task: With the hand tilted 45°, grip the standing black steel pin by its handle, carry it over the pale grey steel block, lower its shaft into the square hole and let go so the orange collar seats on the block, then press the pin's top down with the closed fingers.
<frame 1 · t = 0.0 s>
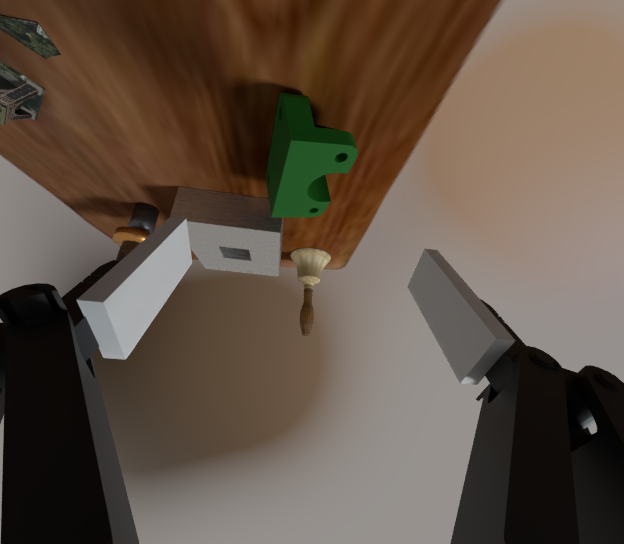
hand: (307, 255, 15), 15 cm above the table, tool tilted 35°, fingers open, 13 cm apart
hand bell: (310, 255, 53), on the table
hole block: (241, 226, 43), on the table
clamp: (307, 143, 26), on the table
pin: (147, 208, 40), on the table
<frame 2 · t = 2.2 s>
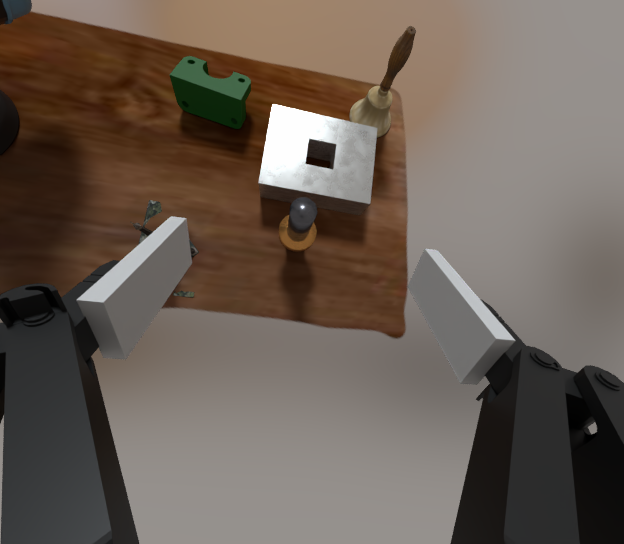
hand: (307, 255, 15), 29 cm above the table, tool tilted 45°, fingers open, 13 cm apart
eiffel tower figurine: (173, 248, 42), on the table
hand bell: (369, 119, 50), on the table
hole block: (316, 170, 47), on the table
clamp: (218, 106, 46), on the table
pin: (294, 242, 44), on the table
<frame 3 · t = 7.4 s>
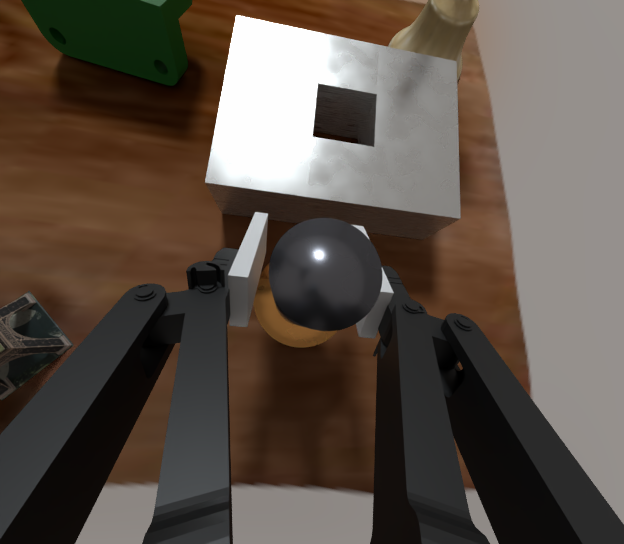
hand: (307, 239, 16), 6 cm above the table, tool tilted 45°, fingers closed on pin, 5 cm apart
eiffel tower figurine: (19, 339, 19), on the table
hand bell: (422, 63, 28), on the table
hole block: (332, 156, 24), on the table
clamp: (137, 47, 24), on the table
pin: (295, 304, 21), on the table, touching gripper
when the fingers open (8 cm above the table, at t = 13.1 s): pin drops 2 cm, resting on hole block.
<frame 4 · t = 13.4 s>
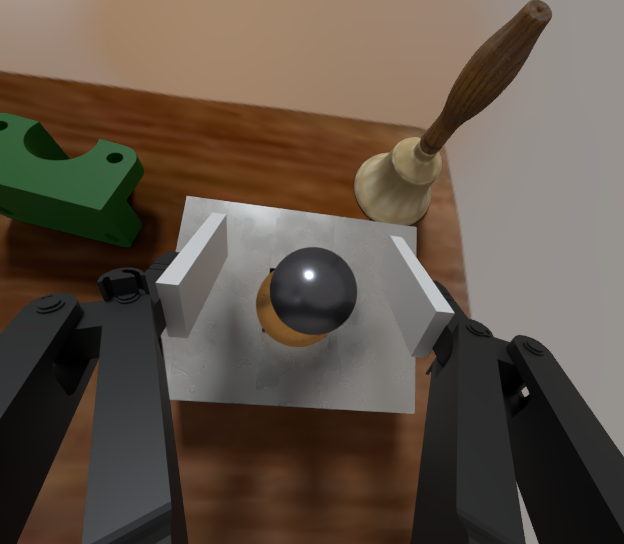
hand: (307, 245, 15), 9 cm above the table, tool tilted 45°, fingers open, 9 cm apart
hand bell: (391, 191, 27), on the table
hole block: (294, 306, 23), on the table
clamp: (93, 200, 23), on the table
pin: (293, 308, 23), resting on hole block
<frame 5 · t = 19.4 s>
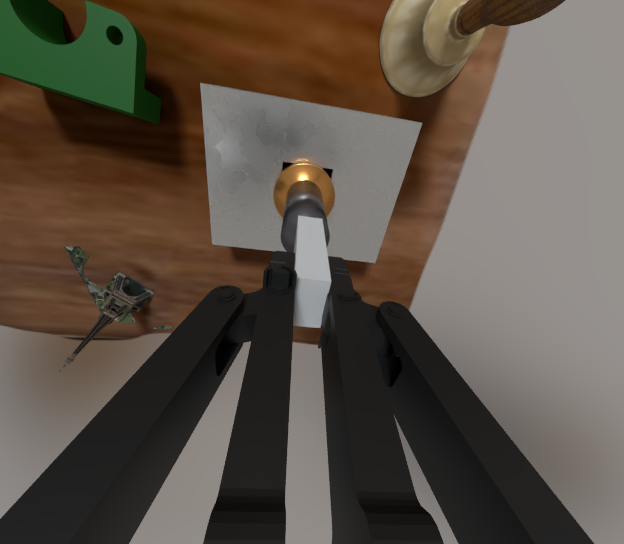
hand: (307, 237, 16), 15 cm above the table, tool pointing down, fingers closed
eiffel tower figurine: (127, 288, 37), on the table
hand bell: (425, 40, 23), on the table
hole block: (304, 177, 29), on the table
clamp: (100, 60, 23), on the table
pin: (303, 179, 29), resting on hole block, touching gripper
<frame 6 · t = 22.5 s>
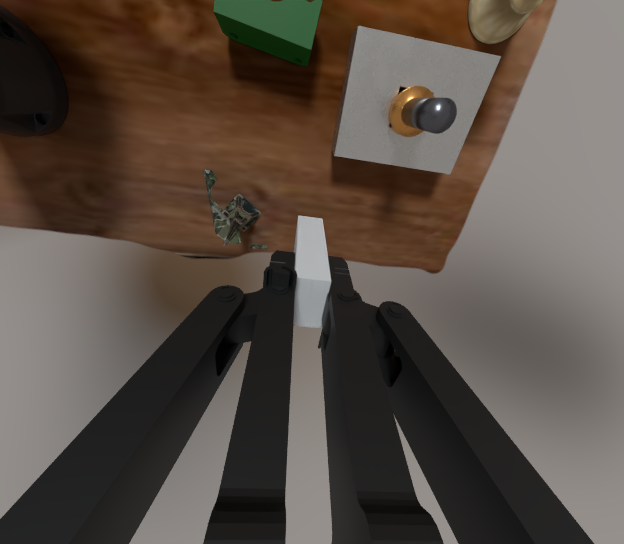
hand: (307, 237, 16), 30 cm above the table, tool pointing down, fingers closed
eiffel tower figurine: (239, 210, 48), on the table
hand bell: (501, 0, 32), on the table
hole block: (399, 109, 38), on the table
clamp: (273, 18, 33), on the table
pin: (398, 110, 38), resting on hole block
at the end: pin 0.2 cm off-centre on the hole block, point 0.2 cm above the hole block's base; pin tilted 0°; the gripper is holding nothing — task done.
